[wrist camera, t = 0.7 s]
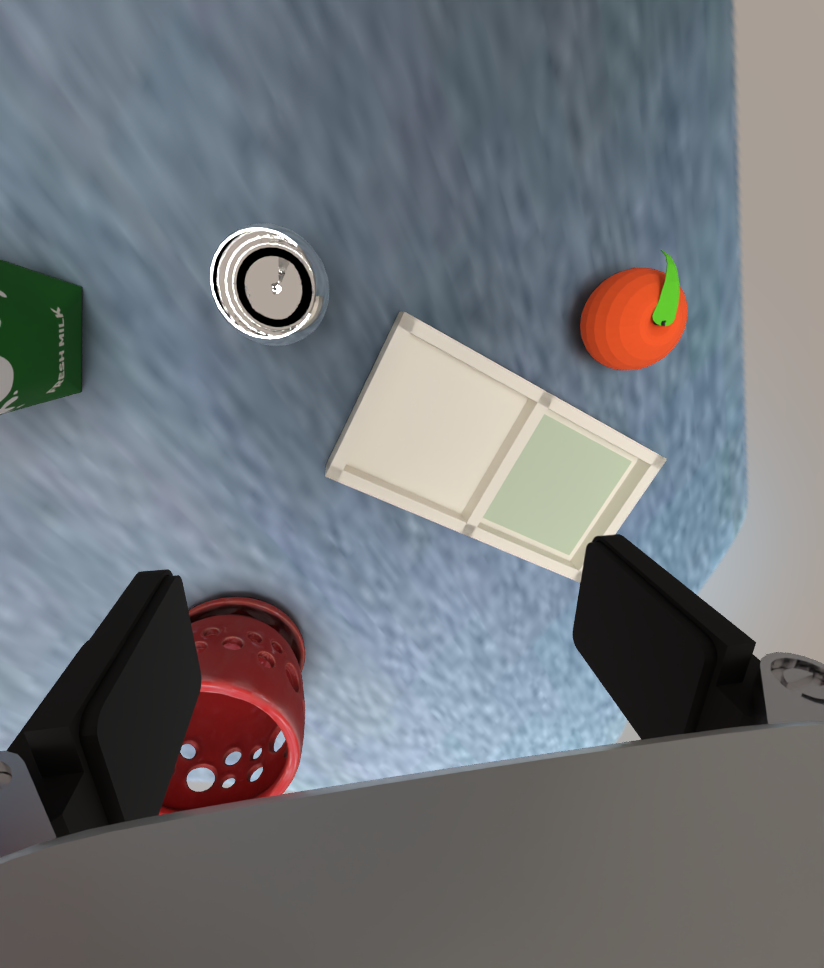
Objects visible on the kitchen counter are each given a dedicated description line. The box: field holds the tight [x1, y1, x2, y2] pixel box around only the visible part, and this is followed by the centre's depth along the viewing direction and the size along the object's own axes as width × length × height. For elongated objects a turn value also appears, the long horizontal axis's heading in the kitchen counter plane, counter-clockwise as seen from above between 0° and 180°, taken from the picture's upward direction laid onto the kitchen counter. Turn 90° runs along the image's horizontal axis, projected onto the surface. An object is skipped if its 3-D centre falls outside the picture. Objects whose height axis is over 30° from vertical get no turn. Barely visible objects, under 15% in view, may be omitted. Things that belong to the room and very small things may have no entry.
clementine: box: [580, 250, 687, 370], centre depth 33 cm, size 8×7×7 cm
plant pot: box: [159, 597, 305, 815], centre depth 36 cm, size 13×13×12 cm
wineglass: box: [210, 223, 330, 346], centre depth 27 cm, size 6×6×12 cm
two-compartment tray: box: [325, 311, 667, 582], centre depth 38 cm, size 13×25×2 cm, turn 62°
